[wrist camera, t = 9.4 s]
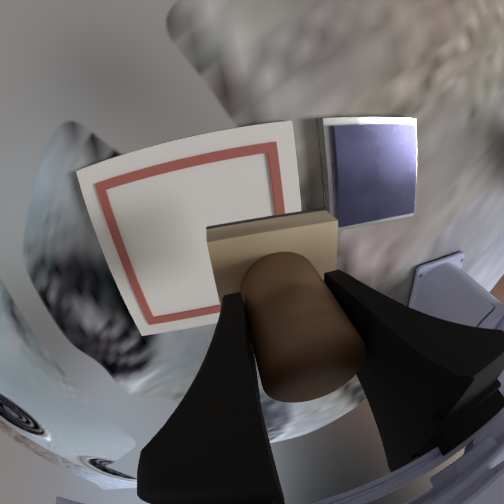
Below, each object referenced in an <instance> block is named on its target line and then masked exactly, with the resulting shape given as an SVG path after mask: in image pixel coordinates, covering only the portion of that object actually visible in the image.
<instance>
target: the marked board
mask: <svg viewBox="0 0 504 504" xmlns="http://www.w3.org/2000/svg"><path fill="white" fill-rule="evenodd" d="M76 173H77V176H78V180H79V184H80V187H81V190H82V194H83V197H84V200H85V204H86V207H87V210H88V213H89V216H90V219H91V222H92V224H93V227H94V230H95V233H96V236H97V238H98V241H99V244H100V246H101V249H102V251H103V254H104V256H105V259H106V261H107V264H108V266H109V268H110V271H111V273H112V275H113V278H114V280H115V282H116V284H117V287H118V289H119V291H120V293H121V295H122V297H123V300H124V302H125V304H126V306H127V308H128V310H129V312H130V314H131V316H132V318H133V320H134V322H135V324H136V326H137V328H138V329H139V331H140V333H141V335H142V336H144V335H151V334H158V333H164V332H170V331H176V330H182V329H188V328H193V327H199V326H204V325H210V324H215V323H217V322H218V319H219V315H220V310H221V306H220V302H219V297H218V293H217V288H216V284H215V279H214V275H213V270H212V265H211V261H210V256H209V251H208V246H207V237H206V227H207V226H213V225H219V224H224V223H230V222H236V221H242V220H248V219H254V218H260V217H267V216H273V215H279V214H286V213H292V212H299V211H301V199H300V188H299V178H298V168H297V159H296V150H295V141H294V133H293V125H292V121H280V122H271V123H264V124H256V125H249V126H243V127H236V128H231V129H225V130H220V131H214V132H209V133H204V134H200V135H194V136H190V137H185V138H181V139H177V140H173V141H169V142H165V143H161V144H157V145H154V146H150V147H146V148H143V149H139V150H136V151H133V152H129V153H126V154H123V155H119V156H116V157H113V158H110V159H107V160H104V161H101V162H99V163H96V164H93V165H90V166H87V167H85V168H82V169H80V170H78V171H76Z"/></svg>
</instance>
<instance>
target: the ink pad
mask: <svg viewBox="0 0 504 504" xmlns="http://www.w3.org/2000/svg"><path fill="white" fill-rule="evenodd" d="M317 123H318V132H319V142H320V153H321V165H322V178H323V193H324V209H325V210H326V211H327V212H329V213H330V214H331V215H332V216H333V217H335V218H336V219H337V220H338V231H341V230H346V229H350V228H355V227H360V226H365V225H370V224H375V223H380V222H385V221H390V220H394V219H399V218H404V217H409V216H414V213H415V200H416V181H417V131H416V119H415V118H406V117H329V118H317Z"/></svg>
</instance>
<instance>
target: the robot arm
mask: <svg viewBox="0 0 504 504" xmlns="http://www.w3.org/2000/svg"><path fill="white" fill-rule="evenodd" d="M464 258H465V253H464V252H463V251H461V252H458V253H456V254H453V255H450V256H447V257H444V258H441V259H439V260H436V261H433V262H430V263H427V264H424V265H421V266H419V267H418V268H417V269H416V274H415V279H414V283H413V288H412V293H411V297H410V301H409V305H408V306H405V305H403V304H401V303H399V302H397V301H395V300H393V299H391V298H389V297H387V296H385V295H383V294H381V293H379V292H378V291H376V290H374V289H372V288H370V287H369V286H367V285H365V284H363V283H362V282H360V281H358V280H357V279H355V278H353V277H351V276H350V275H348V274H346V273H344V272H342V271H340V270H334V271H330V272H326V273H324V282H325V284H326V285H327V287H328V288H329V290H330V291H331V293H332V294H333V295H334V297H335V298H336V300H337V301H338V303H339V304H340V306H341V307H342V309H343V310H344V312H345V314H346V315H347V317H348V318H349V320H350V321H351V323H352V324H353V326H354V327H355V329H356V330H357V332H358V333H359V335H360V337H361V338H362V340H363V341H364V343H365V345H366V358H365V361H364V363H363V365H362V367H361V368H360V370H359V371H358V372H357V373H356V375H357V377H358V379H359V381H360V383H361V385H362V388H363V390H364V392H365V395H366V397H367V400H368V402H369V405H370V407H371V410H372V413H373V415H374V418H375V421H376V424H377V427H378V429H379V433H380V436H381V439H382V442H383V446H384V450H385V454H386V457H387V462H388V466H389V469H390V471H391V473H389V474H387V475H385V476H383V477H381V478H379V479H377V480H374V481H372V482H370V483H367V484H365V485H363V486H360V487H357V488H355V489H352V490H350V491H347V492H344V493H341V494H339V495H335V496H333V497H329V498H326V499H323V500H320V501H316V502H313V503H309V504H366V503H368V502H371V501H373V500H376V499H378V498H380V497H382V496H384V495H386V494H388V493H391V492H393V491H395V490H396V489H399V488H400V487H403V486H404V485H406V484H408V483H410V482H412V481H414V480H415V479H417V478H419V477H420V476H422V475H424V474H425V473H427V472H429V471H431V470H432V469H434V468H435V467H437V466H438V465H440V464H441V463H443V462H444V461H446V460H447V459H449V458H450V457H452V456H453V455H454V454H456V453H457V452H459V451H460V450H461V449H463V448H464V447H465V446H466V447H465V452H464V454H463V455H462V456H461V457H460V458H459V459H457V460H456V461H455V462H453V463H452V464H450V465H449V466H447V467H446V468H445V469H443V470H442V471H440V472H438V473H437V474H436V475H434V476H432V477H431V478H430V481H431V483H432V485H433V488H431V489H430V490H428V491H426V492H424V493H423V494H421V495H419V496H417V497H416V498H414V499H412V500H410V501H408V502H406V503H405V504H504V305H503V304H501V303H500V302H499V301H498V300H497V299H496V298H495V297H494V296H492V295H491V294H490V293H489V292H488V291H487V290H486V289H485V288H483V287H482V286H481V285H480V284H479V283H478V282H476V281H475V280H474V279H473V278H472V277H470V276H469V275H468V274H467V273H465V272H464V271H463V270H462V266H463V262H464ZM137 495H138V496H139V498H140V499H142V500H143V501H145V502H147V503H150V504H285V502H284V496H283V492H282V489H281V485H280V481H279V477H278V474H277V470H276V466H275V462H274V458H273V454H272V450H271V446H270V442H269V438H268V434H267V430H266V426H265V422H264V418H263V413H262V408H261V403H260V395H259V388H258V380H257V372H256V364H255V356H254V350H253V346H252V341H251V337H250V332H249V328H248V322H247V318H246V313H245V308H244V303H243V299H242V295H241V292H237V293H232V294H227V295H224V296H223V298H222V304H221V310H220V315H219V319H218V322H217V326H216V329H215V332H214V335H213V338H212V341H211V344H210V346H209V349H208V351H207V354H206V356H205V359H204V361H203V363H202V365H201V367H200V369H199V371H198V373H197V375H196V377H195V379H194V381H193V383H192V384H191V386H190V388H189V390H188V391H187V393H186V395H185V396H184V398H183V399H182V401H181V402H180V404H179V405H178V407H177V408H176V409H175V411H174V412H173V414H172V415H171V416H170V418H169V419H168V420H167V422H166V423H165V425H164V426H163V427H162V428H161V429H160V431H159V432H158V433H157V434H156V435H155V436H154V437H153V438H152V439H151V441H150V442H149V443H148V444H147V445H146V446H145V447H144V448H143V449H142V451H141V454H140V459H139V464H138V471H137ZM56 504H83V503H79V502H75V501H72V500H68V499H64V498H61V497H56Z"/></svg>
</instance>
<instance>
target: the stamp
mask: <svg viewBox="0 0 504 504" xmlns="http://www.w3.org/2000/svg"><path fill="white" fill-rule="evenodd" d="M206 237H207V246H208V251H209V256H210V261H211V265H212V270H213V275H214V279H215V284H216V288H217V293H218V297H219V302H220V306H221V304H222V298H223V296H224V295H227V294H232V293H237V292H241V295H242V299H243V303H244V308H245V313H246V318H247V322H248V328H249V332H250V337H251V341H252V345H253V349H254V354H255V358H256V362H257V366H258V370H259V374H260V378H261V383H262V387H263V390H264V391H265V393H266V394H267V395H268V396H269V397H271V398H273V399H275V400H278V401H282V402H304V401H309V400H313V399H317V398H320V397H322V396H325V395H327V394H329V393H331V392H333V391H335V390H337V389H338V388H340V387H342V386H343V385H344V384H346V383H347V382H348V381H349V380H350V379H352V378H353V377H354V376H355V374H356V373H357V372H358V371H359V370H360V368H361V367H362V365H363V363H364V361H365V358H366V345H365V343H364V341H363V340H362V338H361V337H360V335H359V333H358V332H357V330H356V329H355V327H354V326H353V324H352V323H351V321H350V320H349V318H348V317H347V315H346V314H345V312H344V310H343V309H342V307H341V306H340V304H339V303H338V301H337V300H336V298H335V297H334V295H333V294H332V293H331V291H330V290H329V288H328V287H327V285H326V284H325V282H324V273H326V272H330V271H334V270H336V265H337V243H338V220H337V219H336V218H335V217H333V216H332V215H331V214H330V213H329V212H327V211H326V210H325V209H324V208H320V209H313V210H306V211H299V212H292V213H286V214H279V215H273V216H267V217H260V218H254V219H248V220H242V221H236V222H230V223H224V224H219V225H213V226H207V227H206Z"/></svg>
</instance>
